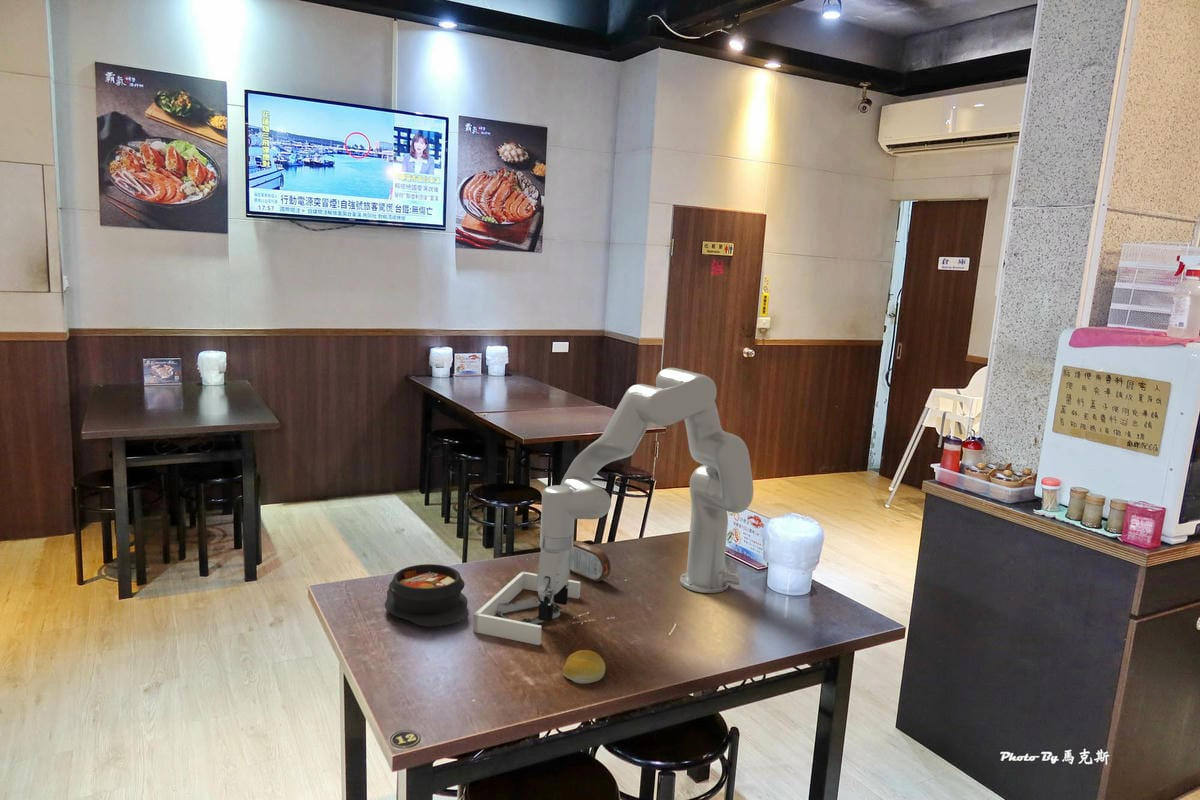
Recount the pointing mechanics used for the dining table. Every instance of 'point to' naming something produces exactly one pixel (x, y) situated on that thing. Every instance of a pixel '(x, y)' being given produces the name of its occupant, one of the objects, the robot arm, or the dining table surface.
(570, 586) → the box
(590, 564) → the tin
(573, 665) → the bread roll
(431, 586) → the casserole
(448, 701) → the dining table surface
